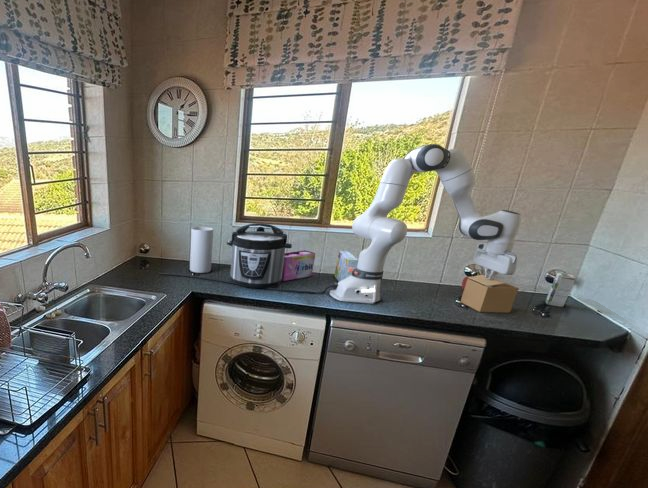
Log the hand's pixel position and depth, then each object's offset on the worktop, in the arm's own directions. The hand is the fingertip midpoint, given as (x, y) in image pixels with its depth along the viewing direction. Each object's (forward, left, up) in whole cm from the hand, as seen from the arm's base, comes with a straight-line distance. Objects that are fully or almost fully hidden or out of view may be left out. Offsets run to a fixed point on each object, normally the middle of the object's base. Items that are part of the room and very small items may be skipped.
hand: (488, 278), depth 180 cm
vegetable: (+10, +20, -14) cm, 26 cm away
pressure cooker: (-97, +30, -14) cm, 102 cm away
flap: (-1, 0, -1) cm, 1 cm away
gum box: (-73, +43, -14) cm, 86 cm away
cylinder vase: (-125, +52, -14) cm, 136 cm away
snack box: (-48, +35, -14) cm, 61 cm away
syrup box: (+38, +6, -14) cm, 41 cm away
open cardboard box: (+2, 0, -14) cm, 14 cm away
